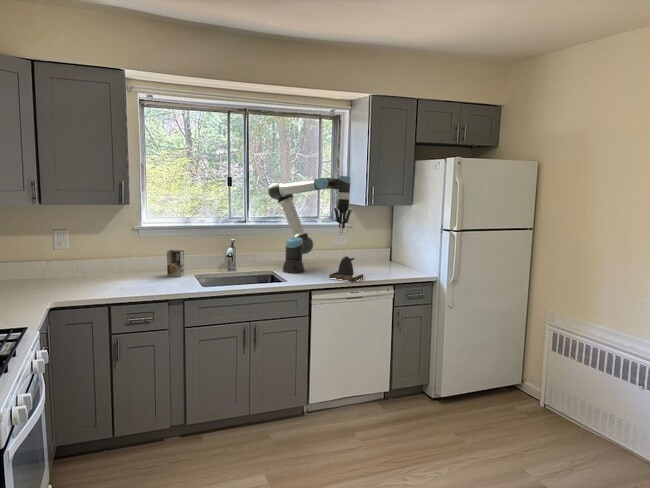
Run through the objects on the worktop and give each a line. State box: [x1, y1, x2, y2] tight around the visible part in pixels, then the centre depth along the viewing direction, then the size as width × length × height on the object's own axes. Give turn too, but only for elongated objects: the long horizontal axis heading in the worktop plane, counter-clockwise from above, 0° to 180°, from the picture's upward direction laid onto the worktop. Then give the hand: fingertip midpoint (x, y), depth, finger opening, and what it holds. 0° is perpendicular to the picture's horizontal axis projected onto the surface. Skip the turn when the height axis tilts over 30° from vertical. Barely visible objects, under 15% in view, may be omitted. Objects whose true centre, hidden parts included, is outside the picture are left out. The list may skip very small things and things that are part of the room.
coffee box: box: [166, 249, 185, 277], centre depth 307 cm, size 9×6×16 cm
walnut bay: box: [328, 271, 364, 283], centre depth 316 cm, size 18×14×3 cm
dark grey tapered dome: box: [337, 255, 355, 277], centre depth 314 cm, size 10×10×15 cm
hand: (341, 232), depth 332 cm, fingers closed
